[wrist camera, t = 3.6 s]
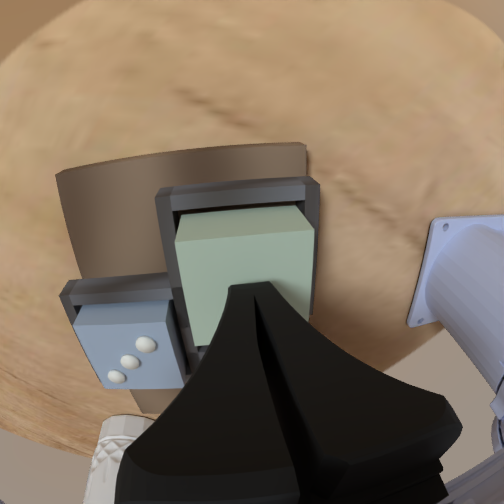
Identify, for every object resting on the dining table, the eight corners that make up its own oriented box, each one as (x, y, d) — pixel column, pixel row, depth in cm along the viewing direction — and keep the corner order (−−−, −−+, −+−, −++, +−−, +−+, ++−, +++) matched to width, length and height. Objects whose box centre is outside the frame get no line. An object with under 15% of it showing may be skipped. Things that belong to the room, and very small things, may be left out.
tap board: (303, 142, 13) (320, 150, 11) (292, 391, 21) (300, 416, 19) (50, 173, 12) (25, 186, 10) (133, 402, 20) (129, 428, 18)
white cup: (173, 457, 25) (174, 545, 16) (95, 439, 22) (83, 527, 14) (193, 422, 22) (197, 535, 13) (97, 399, 19) (75, 513, 11)
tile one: (295, 205, 12) (316, 232, 10) (293, 298, 14) (308, 336, 12) (181, 215, 12) (173, 245, 9) (196, 307, 14) (194, 349, 11)
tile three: (171, 288, 14) (164, 324, 12) (186, 353, 16) (184, 390, 14) (88, 294, 14) (71, 328, 12) (113, 356, 16) (104, 391, 14)
